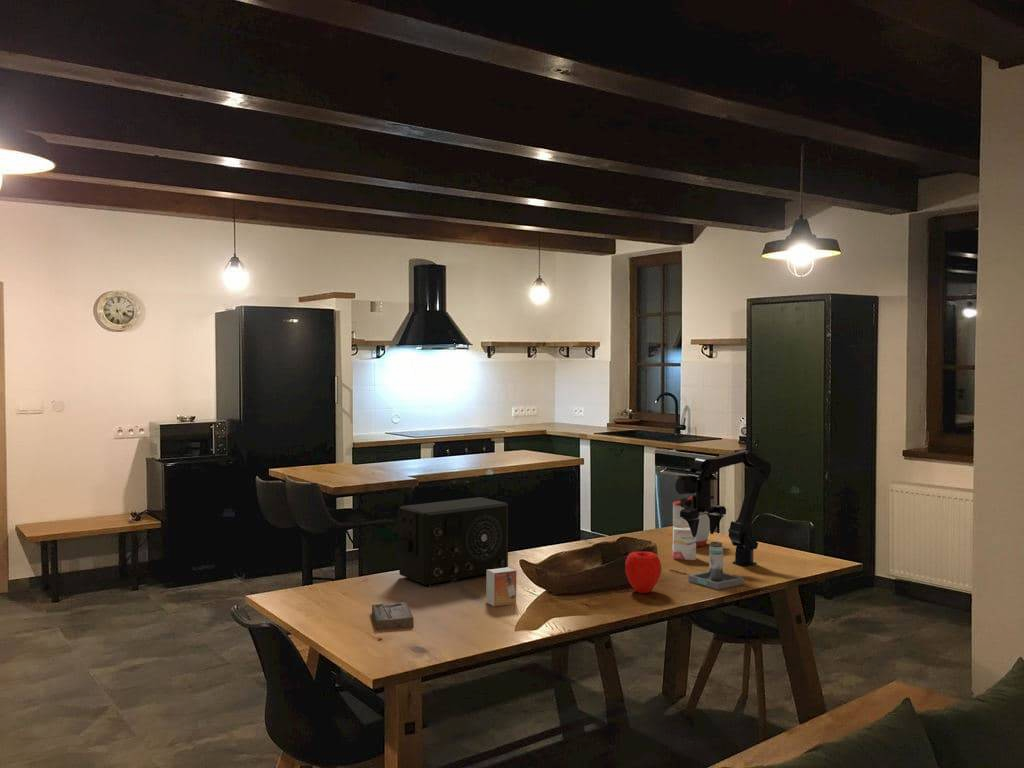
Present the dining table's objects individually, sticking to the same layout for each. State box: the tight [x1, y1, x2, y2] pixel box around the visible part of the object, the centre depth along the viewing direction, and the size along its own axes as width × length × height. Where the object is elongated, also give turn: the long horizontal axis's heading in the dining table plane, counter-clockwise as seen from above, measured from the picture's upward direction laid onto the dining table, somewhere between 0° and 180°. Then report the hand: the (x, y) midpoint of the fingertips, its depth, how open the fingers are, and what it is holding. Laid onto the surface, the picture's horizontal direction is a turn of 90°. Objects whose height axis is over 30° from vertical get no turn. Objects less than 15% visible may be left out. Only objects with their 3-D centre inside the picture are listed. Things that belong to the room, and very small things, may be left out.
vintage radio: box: [397, 496, 509, 587], centre depth 304 cm, size 38×20×25 cm, turn 127°
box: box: [371, 601, 415, 631], centre depth 253 cm, size 11×17×3 cm, turn 14°
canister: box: [708, 541, 724, 582], centre depth 295 cm, size 5×5×13 cm
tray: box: [687, 571, 745, 591], centre depth 295 cm, size 13×13×2 cm
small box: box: [485, 566, 517, 607], centre depth 270 cm, size 8×6×10 cm
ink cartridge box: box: [671, 519, 697, 561], centre depth 331 cm, size 9×5×15 cm, turn 84°
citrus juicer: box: [672, 495, 710, 547], centre depth 357 cm, size 16×17×20 cm
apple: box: [624, 550, 662, 594], centre depth 284 cm, size 12×12×13 cm
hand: (703, 535), depth 316 cm, fingers open, 9 cm apart
